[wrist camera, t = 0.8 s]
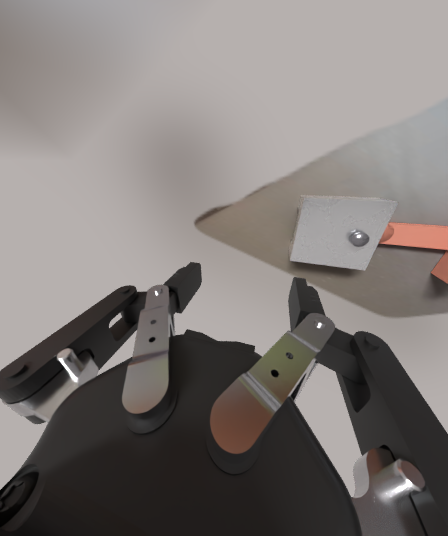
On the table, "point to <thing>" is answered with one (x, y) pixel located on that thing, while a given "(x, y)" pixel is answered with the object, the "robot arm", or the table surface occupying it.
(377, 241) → the metal block with knob
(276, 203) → the table surface
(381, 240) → the salmon angled bracket
